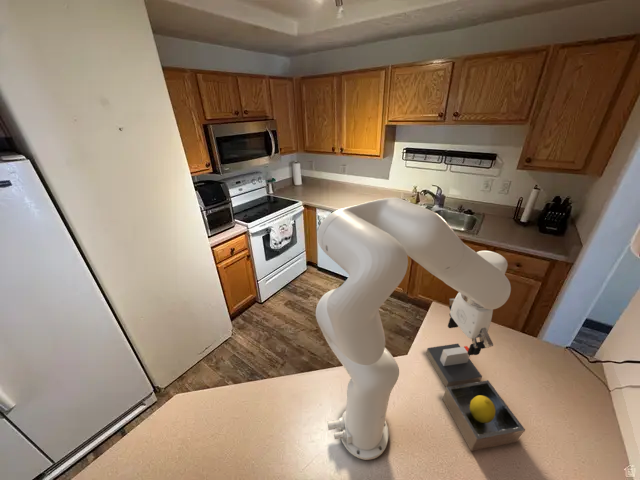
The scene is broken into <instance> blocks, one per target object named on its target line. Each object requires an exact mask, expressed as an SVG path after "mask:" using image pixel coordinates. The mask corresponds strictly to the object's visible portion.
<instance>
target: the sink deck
mask: <svg viewBox="0 0 640 480" xmlns="http://www.w3.org/2000/svg"><path fill="white" fill-rule="evenodd" d="M458 347H461V345H460V344H459V343H452V344H445V345H439V346H431V347H427V349H426V351H425V354H426V356H427V358H428V360H429V362H430V363H431V366H433V368H434V370H435V372H436V374H437V375H438V377H439V379H440V380H441V382H442V384H443V386H444V387H445V389H446V388H447V387H451V386H457V385H463V384H469V383H475V382H481V381H482V379H483V375H482V374H481V372H480V371H479V369H477V367H476V366H475V364H474V363H473V361H472V360H471V358H469V360H468V362H467V363H461V364H455V365H448V366H443V364H442V363H441V361H440V358H441V355H442V352H443V350H444V349H451V348H458Z"/></svg>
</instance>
